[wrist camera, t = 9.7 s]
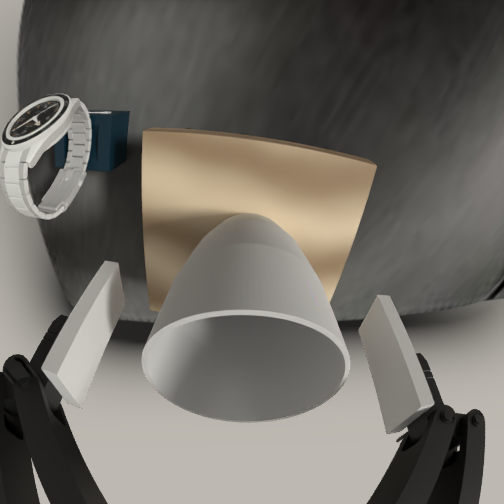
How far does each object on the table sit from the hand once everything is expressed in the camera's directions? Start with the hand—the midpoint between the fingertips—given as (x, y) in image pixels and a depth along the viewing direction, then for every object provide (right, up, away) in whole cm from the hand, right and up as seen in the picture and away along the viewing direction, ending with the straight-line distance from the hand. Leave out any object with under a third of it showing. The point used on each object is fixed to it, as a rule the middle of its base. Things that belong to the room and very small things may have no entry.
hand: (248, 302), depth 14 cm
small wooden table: (0, +6, +10) cm, 12 cm away
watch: (-13, +12, +6) cm, 19 cm away
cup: (0, +3, +5) cm, 6 cm away
